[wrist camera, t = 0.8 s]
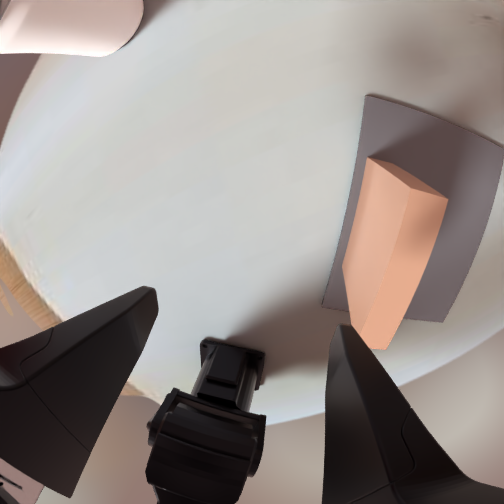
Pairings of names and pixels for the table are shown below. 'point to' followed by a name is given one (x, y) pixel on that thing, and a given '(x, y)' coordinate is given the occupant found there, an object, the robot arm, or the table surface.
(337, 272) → the mat
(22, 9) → the can
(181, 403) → the robot arm
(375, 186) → the tile
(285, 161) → the table surface
